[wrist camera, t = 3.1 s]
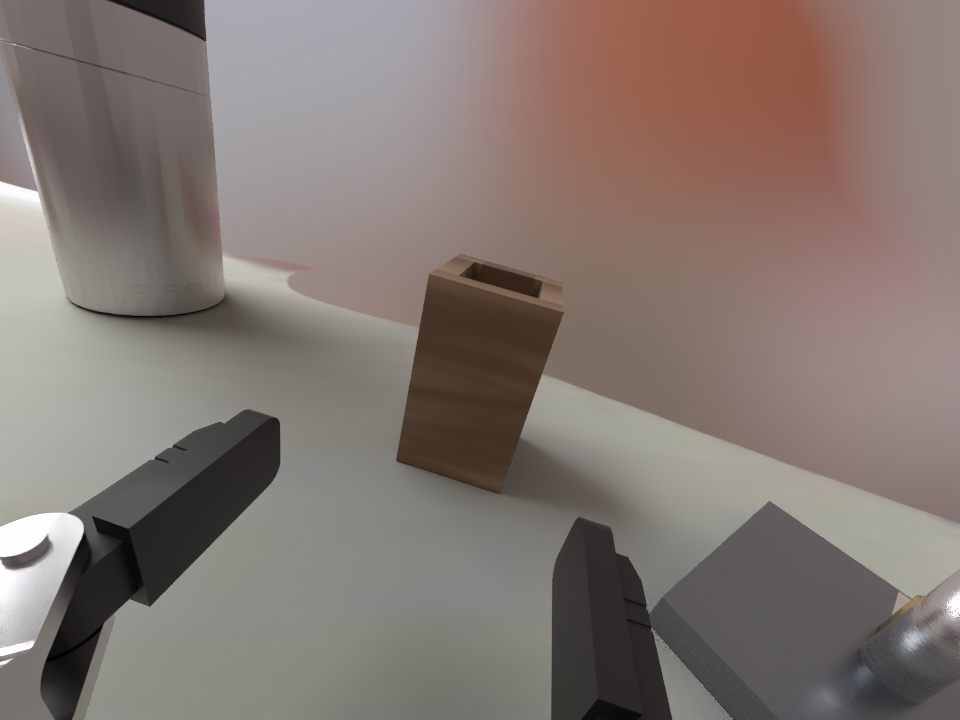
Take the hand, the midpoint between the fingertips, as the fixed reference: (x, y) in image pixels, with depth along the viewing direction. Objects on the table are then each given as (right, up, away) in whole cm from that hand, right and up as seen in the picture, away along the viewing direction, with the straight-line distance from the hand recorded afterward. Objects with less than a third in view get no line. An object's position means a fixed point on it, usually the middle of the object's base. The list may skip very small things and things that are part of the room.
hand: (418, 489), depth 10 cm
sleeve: (0, -2, +12) cm, 12 cm away
